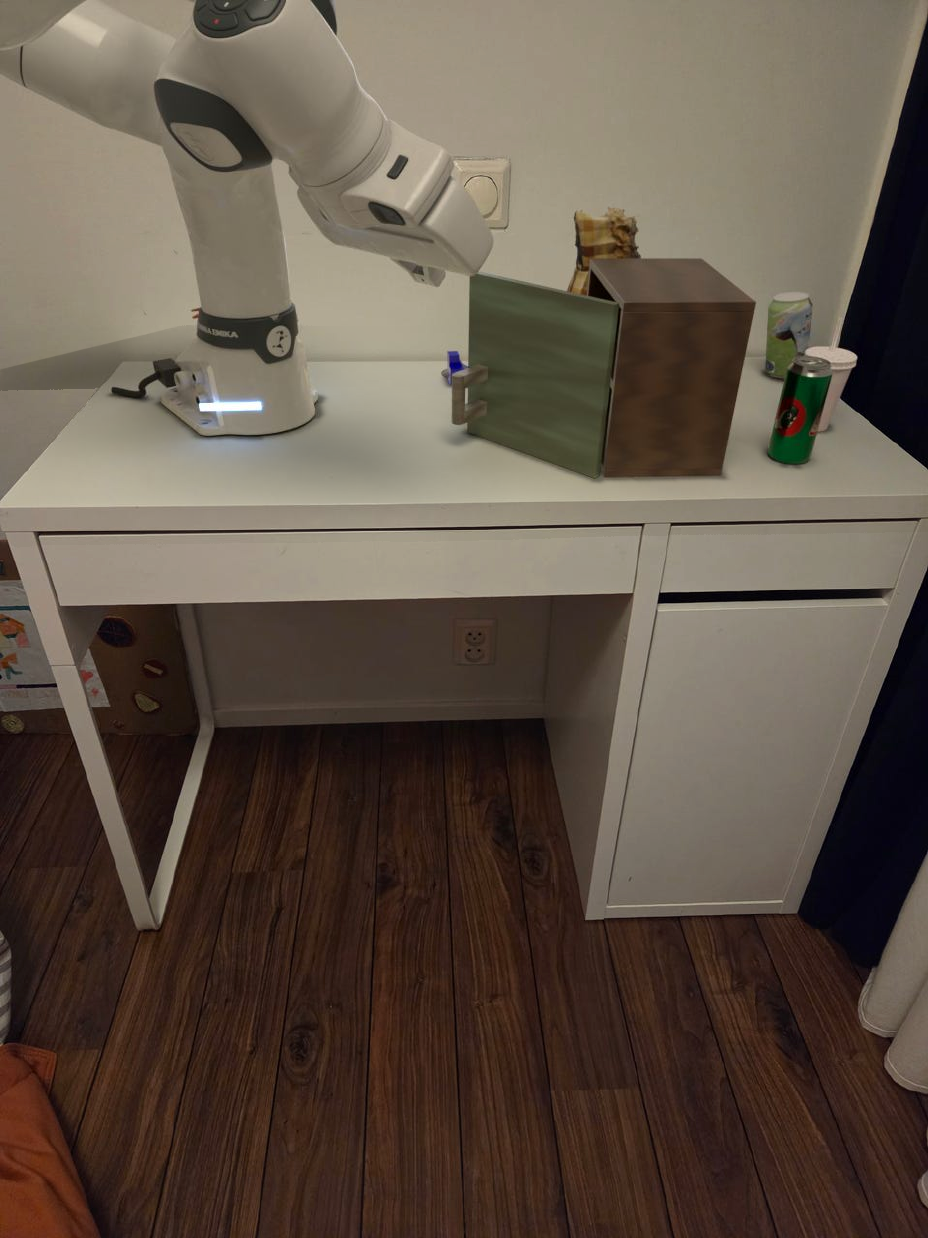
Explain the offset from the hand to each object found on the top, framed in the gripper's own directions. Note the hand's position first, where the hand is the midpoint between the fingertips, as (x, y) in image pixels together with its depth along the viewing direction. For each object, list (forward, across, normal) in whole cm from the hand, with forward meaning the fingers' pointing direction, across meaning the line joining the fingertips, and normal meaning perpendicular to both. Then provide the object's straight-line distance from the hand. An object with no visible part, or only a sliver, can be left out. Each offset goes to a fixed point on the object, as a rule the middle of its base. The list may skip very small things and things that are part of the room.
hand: (431, 278), depth 84 cm
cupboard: (+35, +10, +6) cm, 37 cm away
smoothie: (+49, +24, +21) cm, 58 cm away
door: (+25, +2, -6) cm, 26 cm away
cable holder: (+37, -20, +7) cm, 43 cm away
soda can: (+41, +26, +12) cm, 50 cm away
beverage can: (+60, +12, +33) cm, 69 cm away
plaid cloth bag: (+44, -8, +16) cm, 48 cm away
